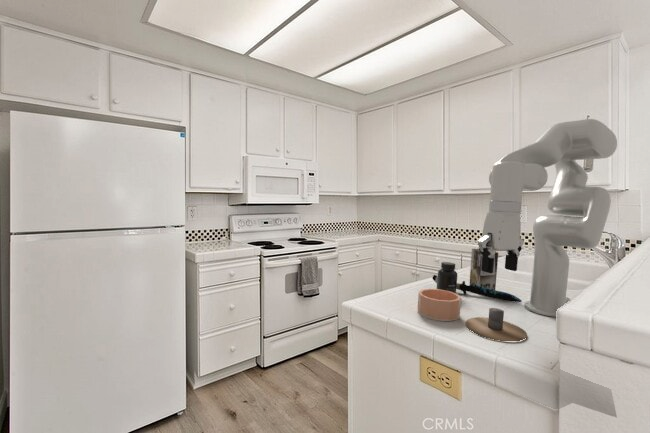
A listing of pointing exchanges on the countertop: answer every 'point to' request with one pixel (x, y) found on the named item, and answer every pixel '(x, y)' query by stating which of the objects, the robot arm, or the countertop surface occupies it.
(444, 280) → the supplement bottle
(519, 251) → the robot arm
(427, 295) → the bowl
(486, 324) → the lid
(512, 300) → the knife
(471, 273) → the coffee box
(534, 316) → the countertop surface
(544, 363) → the countertop surface
